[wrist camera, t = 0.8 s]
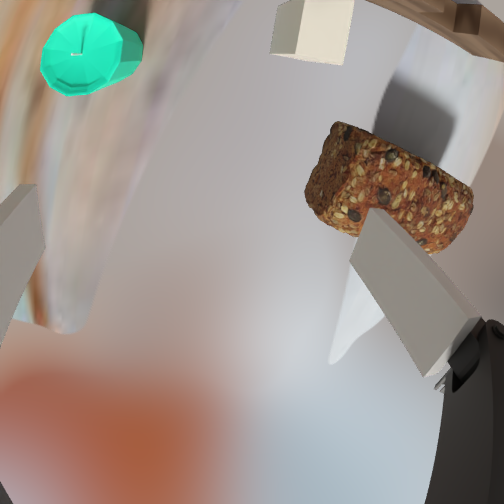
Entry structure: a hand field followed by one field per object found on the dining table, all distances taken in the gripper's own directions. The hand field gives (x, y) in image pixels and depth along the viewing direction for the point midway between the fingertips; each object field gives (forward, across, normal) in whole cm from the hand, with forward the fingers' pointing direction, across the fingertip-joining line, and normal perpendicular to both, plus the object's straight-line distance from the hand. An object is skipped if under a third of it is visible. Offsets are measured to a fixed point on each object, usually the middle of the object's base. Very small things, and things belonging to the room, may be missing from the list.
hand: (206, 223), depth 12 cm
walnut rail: (+22, +22, +19) cm, 36 cm away
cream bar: (+22, +8, +15) cm, 28 cm away
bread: (+22, +23, -4) cm, 32 cm away
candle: (+22, -9, +6) cm, 24 cm away
